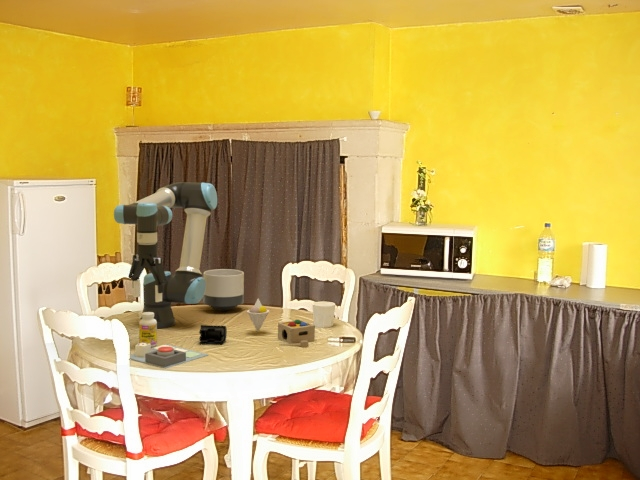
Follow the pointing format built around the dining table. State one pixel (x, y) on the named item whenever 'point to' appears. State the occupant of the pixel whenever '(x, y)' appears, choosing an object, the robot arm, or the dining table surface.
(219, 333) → the end cap
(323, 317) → the cup
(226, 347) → the dining table surface
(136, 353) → the die
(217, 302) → the planter
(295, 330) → the pounding toy
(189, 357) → the board
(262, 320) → the toy
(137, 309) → the dining table surface
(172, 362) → the button housing
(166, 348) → the pop button
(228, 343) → the dining table surface
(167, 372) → the dining table surface
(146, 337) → the supplement bottle
